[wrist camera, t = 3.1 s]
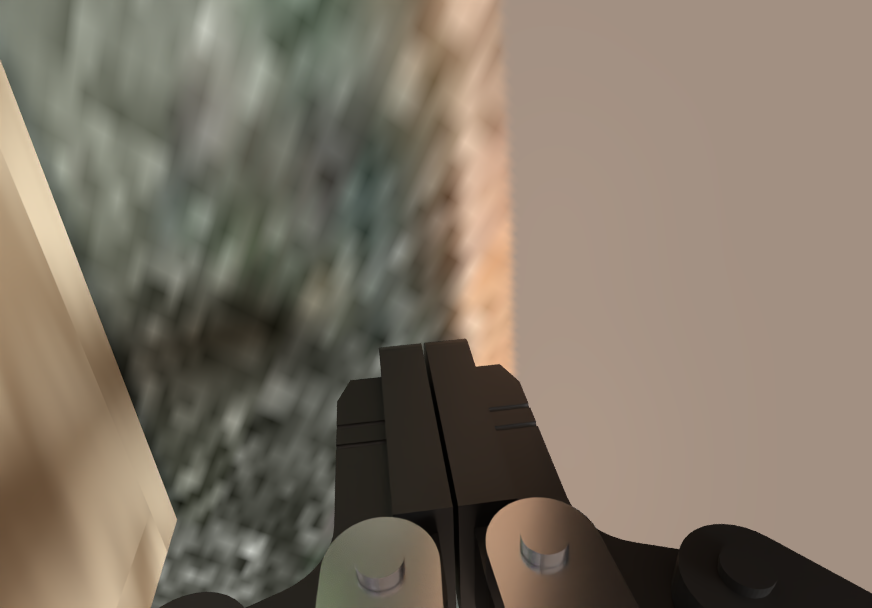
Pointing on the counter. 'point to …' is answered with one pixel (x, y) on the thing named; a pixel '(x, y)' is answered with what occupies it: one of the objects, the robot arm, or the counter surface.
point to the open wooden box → (65, 417)
